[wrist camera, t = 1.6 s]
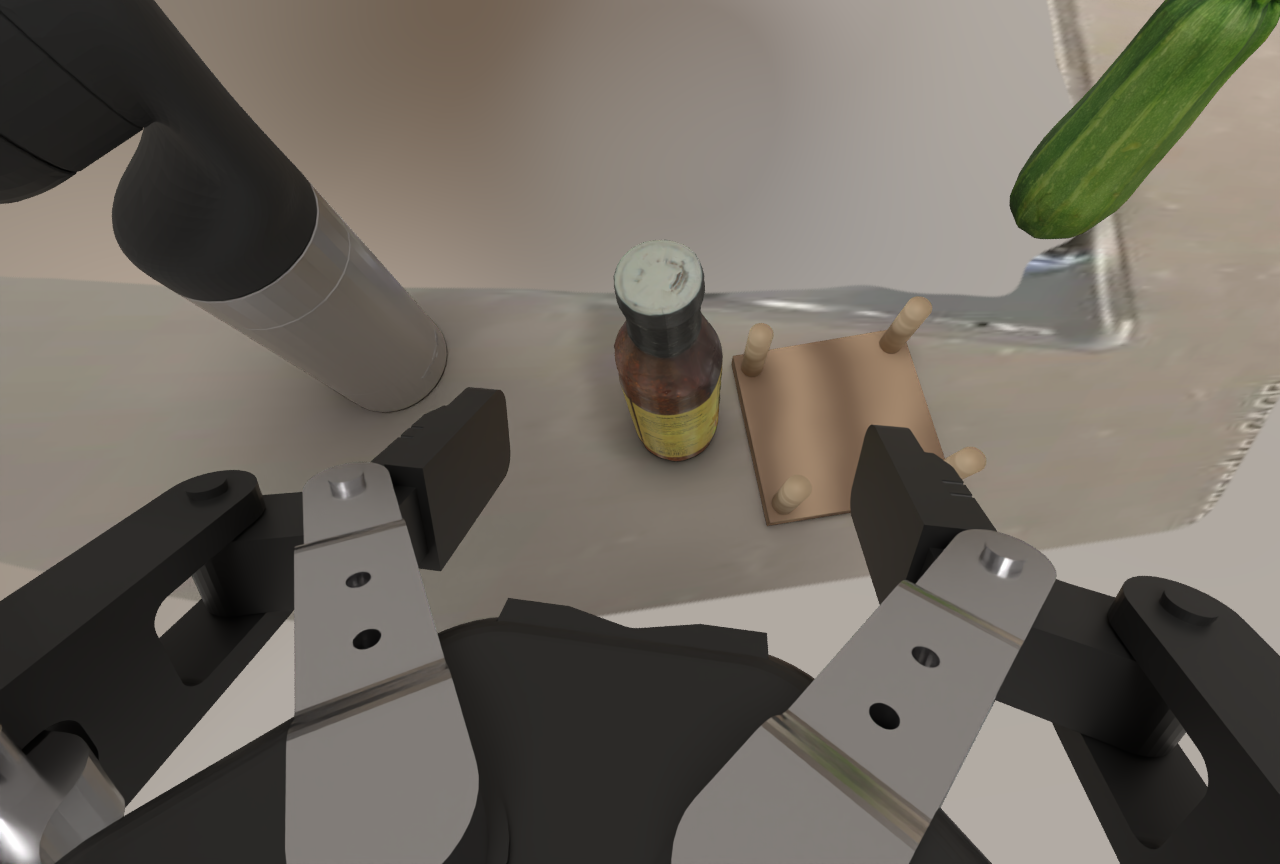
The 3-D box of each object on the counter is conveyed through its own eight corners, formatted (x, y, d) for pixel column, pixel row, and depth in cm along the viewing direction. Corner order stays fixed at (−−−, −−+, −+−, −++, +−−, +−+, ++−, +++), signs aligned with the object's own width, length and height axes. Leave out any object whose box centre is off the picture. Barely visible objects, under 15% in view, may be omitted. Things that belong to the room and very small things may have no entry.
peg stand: (767, 525, 40) (783, 509, 34) (731, 364, 44) (739, 321, 38) (946, 497, 40) (999, 475, 33) (894, 336, 44) (932, 288, 37)
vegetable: (985, 244, 46) (1201, -14, 27) (998, 175, 48) (1208, -112, 29) (1081, 265, 44) (1378, 10, 25) (1090, 193, 46) (1374, -95, 27)
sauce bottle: (732, 431, 43) (771, 292, 24) (668, 480, 42) (655, 377, 23) (680, 370, 44) (677, 195, 25) (617, 416, 44) (566, 270, 25)
